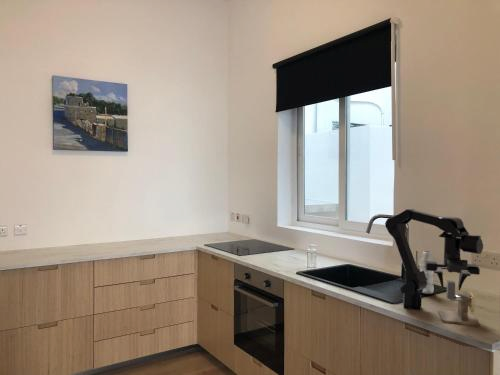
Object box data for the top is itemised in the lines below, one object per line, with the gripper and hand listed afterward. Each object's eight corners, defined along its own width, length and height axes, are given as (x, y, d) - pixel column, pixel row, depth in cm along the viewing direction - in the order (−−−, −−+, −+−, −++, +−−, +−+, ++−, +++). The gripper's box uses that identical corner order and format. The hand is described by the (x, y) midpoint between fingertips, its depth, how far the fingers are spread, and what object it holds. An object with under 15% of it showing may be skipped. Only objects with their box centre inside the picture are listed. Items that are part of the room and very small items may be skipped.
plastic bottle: (434, 296, 190) (435, 253, 190) (418, 294, 193) (419, 252, 192) (433, 292, 196) (434, 251, 196) (418, 290, 199) (419, 249, 198)
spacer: (471, 312, 156) (471, 296, 156) (468, 307, 162) (468, 292, 162) (474, 312, 156) (474, 296, 156) (470, 307, 162) (471, 292, 162)
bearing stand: (442, 322, 157) (443, 296, 156) (438, 312, 168) (438, 288, 168) (480, 326, 153) (481, 300, 153) (473, 316, 164) (474, 291, 164)
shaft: (447, 301, 160) (448, 282, 160) (446, 299, 163) (447, 280, 163) (476, 304, 157) (477, 284, 157) (474, 301, 160) (475, 282, 160)
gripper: (428, 251, 156) (427, 292, 156) (483, 255, 150) (482, 297, 151) (425, 246, 166) (424, 284, 167) (477, 250, 161) (475, 289, 161)
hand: (450, 289), depth 161 cm, fingers open, 6 cm apart
